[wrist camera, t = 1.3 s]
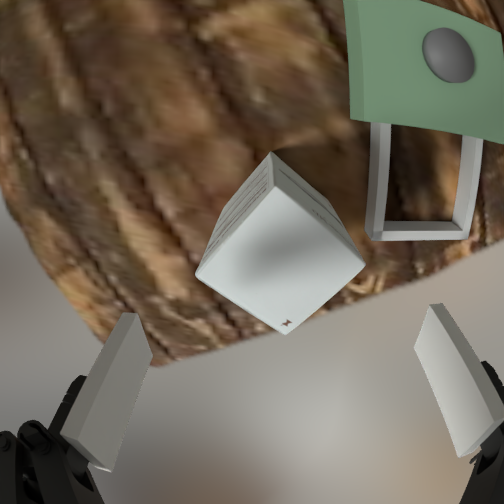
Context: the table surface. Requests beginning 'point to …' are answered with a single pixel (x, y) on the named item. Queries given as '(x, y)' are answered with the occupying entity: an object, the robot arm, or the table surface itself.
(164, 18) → the table surface
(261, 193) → the supplement box
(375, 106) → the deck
